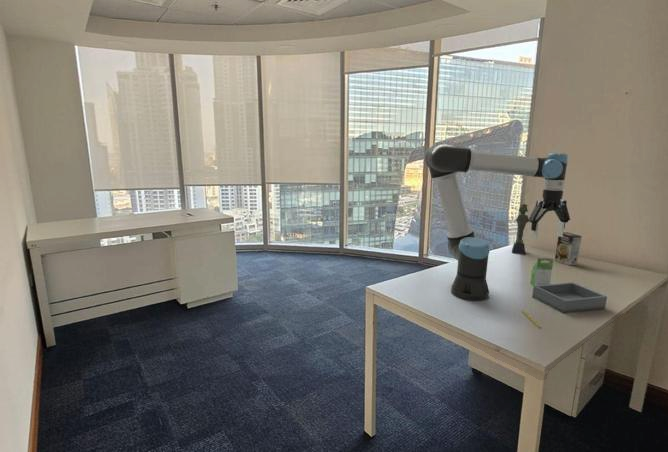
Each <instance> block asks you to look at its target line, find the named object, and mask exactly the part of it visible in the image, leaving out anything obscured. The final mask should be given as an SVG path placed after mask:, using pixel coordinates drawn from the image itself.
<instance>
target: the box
mask: <svg viewBox="0 0 668 452" xmlns="http://www.w3.org/2000/svg"><path fill="white" fill-rule="evenodd" d="M532 288H533V289H532V294H531V295H532V297H531V298H533V299H534V300H537V301H539V302H541V303H543V304H544V305H547V306H548V307H550V308H552V309H554V310H556V311H558V312H560V313H562V314H568V313H578V312H585V311H587V312H588V311H595V310H596V311H597V310H604V309H606V305H607V299H608V296H606V295H605V294H601V293H600V292H597V291H594V290H593V289H590V288H588V287H585V286H582V285H579V284H578V283H575V282H572V281H571V282H561V283H550V284H549V285H538V286H533V287H532Z"/></svg>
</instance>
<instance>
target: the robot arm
mask: <svg viewBox="0 0 668 452" xmlns="http://www.w3.org/2000/svg"><path fill="white" fill-rule="evenodd" d="M424 155H425V157H424V161H425V165H426V166H427V167H428V169H429V174H430V178H431V179H432V180H434V181H435V182H436V186H437V190H438V193H439V197H440V201H441V204H442V208H443V213H444V217H445V220H446V224H447V227H448V232H447V234H446V238H447V248H448V252H449V253H450V254H451V256H452V257H453V258H454V259H456V261H457V270H456V276H455V278H454V281H453V283H452V285H451V288H450V290H451V292H450V293H452V295H453V296H455V297H457V298H459V299H463V300H468V301H484V300H487V299H488V298H489V294H490V291H489V285H488V283H487V282H488V281H487V272H488V271H487V270H488V264H489V263H488V261H489V255H490V245H489V243H488V242H487V241H486V240H484V239H481V238H478V237H476V235H475V231H474V229H473V228H472V227H470V226H469V223H468V219H467V215H466V211H465V207H464V203H463V199H462V195H461V191H460V187H459V183H458V178H457V174H458V173H468V172H469V171H474V172H483V173H486V172H487V173H493V174H494V173H495V174H501V175H502V174H503V175H504V174H505V175H515V176H523V177H524V176H525V177H534V178H544V181H543V190H542V198H543V200H538V199H537V200H536V202H535V206H534V208H533V210H532V211H531V213H530V215H529V216H528V221H529V222H530V223H531V227H530V230H531V235H530V238H532V239H536V240H537V239H538V234H539V226H540V223H539V222H540V221H541V219H542V218H544V216H545V214H547V213H548V212H553V211H554V213H555V214H556V217H557V218H558V220H559V221H557V228H556V229H557V230H556V237H558V236H560V237H563V232H564V229H565V227H566V224H567V223H568V222H569V221H571V217H570V214H569V210H568V206H567V203H568V202H567V200H565V199H563V195H564V191H563V189H564V187H565V179H566V173H567V166H568V154H567V153H565V152H564V153H563V152H561V153H559V152H552V153H551V152H549V153H548V154H547V156H546V157H534V156H524V155H515V154H504V153H497V152H496V153H494V152H483V151H474V150H473V149H472V148H470V147H463V146H457V145H454V144H451V143H441V142H440V143H436V144H433V145H432V146H430V147H429V148H428V149H427V151H426V152H425V154H424ZM529 222H528V223H529Z"/></svg>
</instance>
